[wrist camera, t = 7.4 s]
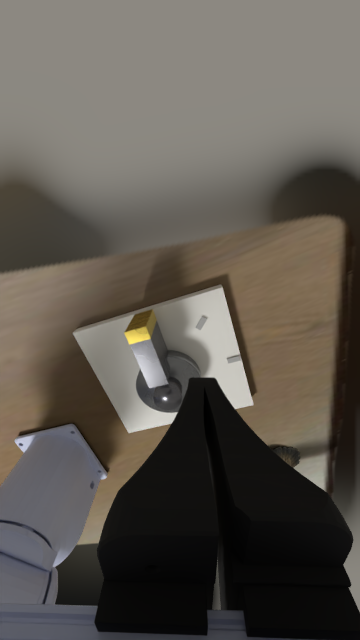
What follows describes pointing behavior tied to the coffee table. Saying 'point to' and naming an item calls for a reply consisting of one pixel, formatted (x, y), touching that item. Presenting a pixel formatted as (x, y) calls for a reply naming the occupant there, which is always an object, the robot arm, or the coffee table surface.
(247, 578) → the robot arm
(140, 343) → the dial
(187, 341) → the dial plate
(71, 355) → the coffee table surface
